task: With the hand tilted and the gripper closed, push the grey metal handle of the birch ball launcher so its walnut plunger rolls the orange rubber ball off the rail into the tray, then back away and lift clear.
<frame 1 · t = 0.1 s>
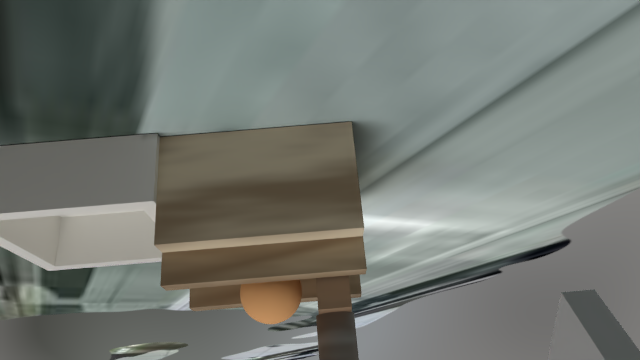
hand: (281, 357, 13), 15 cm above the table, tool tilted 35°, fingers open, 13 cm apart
tray: (99, 181, 38), on the table
ball: (271, 292, 34), point 9 cm above the table, touching launcher
launcher: (266, 167, 38), on the table
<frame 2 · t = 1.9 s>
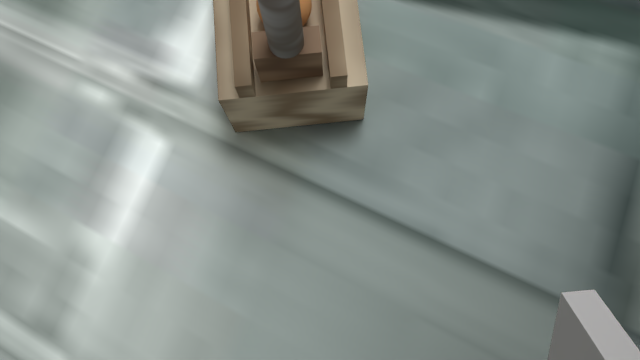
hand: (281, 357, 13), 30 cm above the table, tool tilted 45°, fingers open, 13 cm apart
ball: (284, 4, 38), point 9 cm above the table, touching launcher
launcher: (293, 62, 47), on the table
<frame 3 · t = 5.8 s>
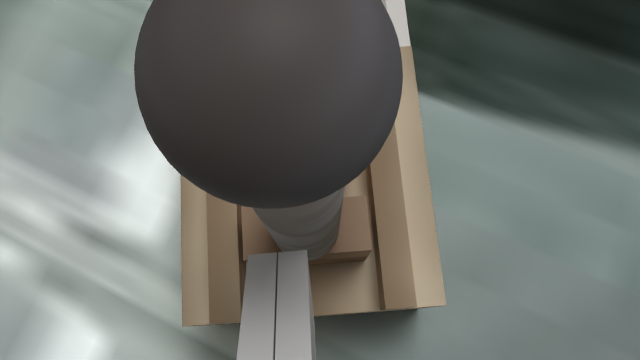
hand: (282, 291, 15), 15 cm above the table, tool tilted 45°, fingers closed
tray: (295, 22, 33), on the table
launcher: (309, 208, 30), on the table
plunger: (298, 194, 14), point 16 cm above the table, slide at 1.1 cm, touching gripper
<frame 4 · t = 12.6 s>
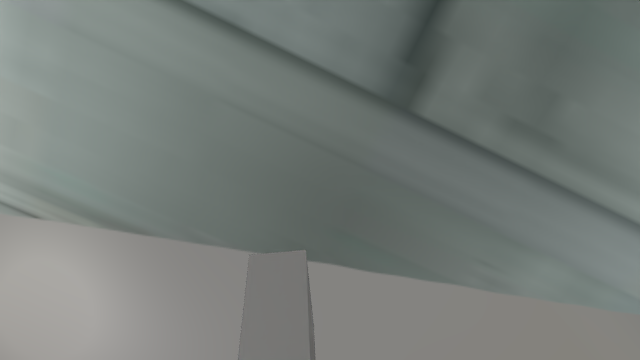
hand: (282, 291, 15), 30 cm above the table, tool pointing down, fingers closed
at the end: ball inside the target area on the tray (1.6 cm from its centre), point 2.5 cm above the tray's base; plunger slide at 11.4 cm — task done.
